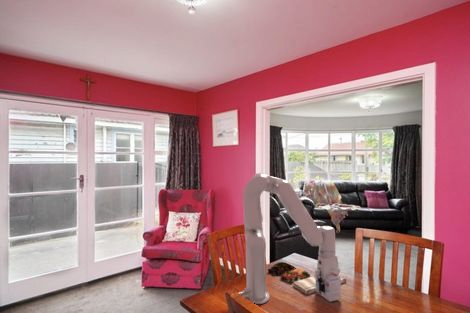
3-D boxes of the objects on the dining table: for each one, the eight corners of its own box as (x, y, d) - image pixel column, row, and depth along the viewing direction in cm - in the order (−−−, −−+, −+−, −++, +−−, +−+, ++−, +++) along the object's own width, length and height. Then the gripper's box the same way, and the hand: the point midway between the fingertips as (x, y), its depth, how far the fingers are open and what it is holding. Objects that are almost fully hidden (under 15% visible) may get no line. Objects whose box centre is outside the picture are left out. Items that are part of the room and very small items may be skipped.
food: (262, 272, 153) (262, 266, 153) (283, 264, 164) (283, 259, 165) (292, 286, 136) (292, 279, 136) (313, 276, 148) (313, 270, 148)
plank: (306, 294, 126) (306, 290, 126) (293, 285, 135) (293, 281, 135) (346, 281, 139) (346, 277, 139) (331, 274, 148) (331, 271, 148)
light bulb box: (315, 291, 128) (314, 269, 128) (326, 288, 130) (325, 267, 130) (330, 302, 118) (329, 278, 118) (341, 299, 120) (341, 276, 120)
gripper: (319, 258, 117) (320, 297, 117) (346, 251, 125) (346, 288, 124) (308, 253, 124) (308, 290, 123) (334, 247, 131) (334, 282, 131)
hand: (327, 289), depth 124 cm, fingers closed on light bulb box, 7 cm apart
